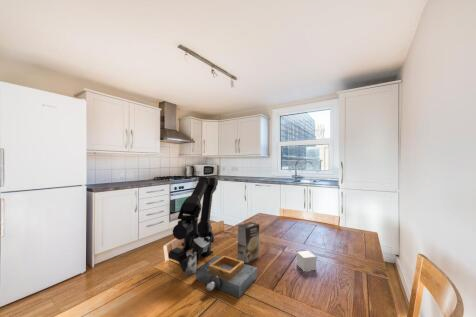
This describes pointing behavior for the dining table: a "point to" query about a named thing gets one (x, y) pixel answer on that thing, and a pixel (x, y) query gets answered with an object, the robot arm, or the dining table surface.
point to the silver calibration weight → (191, 263)
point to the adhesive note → (306, 260)
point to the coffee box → (248, 242)
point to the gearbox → (227, 275)
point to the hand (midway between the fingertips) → (190, 267)
